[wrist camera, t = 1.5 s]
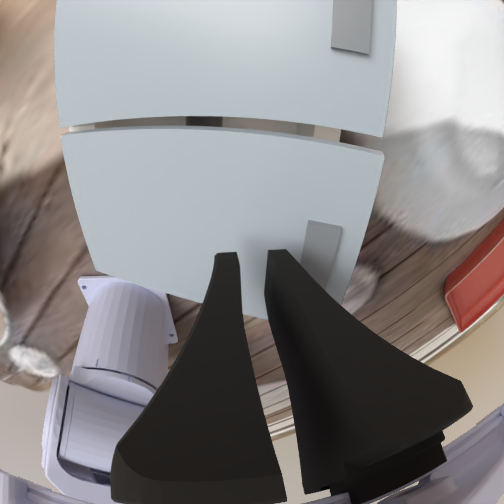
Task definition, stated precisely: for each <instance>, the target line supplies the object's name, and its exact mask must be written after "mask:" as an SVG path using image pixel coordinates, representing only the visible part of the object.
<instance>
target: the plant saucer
mask: <svg viewBox="0 0 504 504" xmlns="http://www.w3.org/2000/svg"><path fill="white" fill-rule="evenodd" d="M444 294H445V300H446V302H447V304H448V306H449V309H450V311H451V313H452V315H453V318H454V320H455V322H456V324H457V327H458V329H459V332H460V333H461V332H463V331H464V330H465V329H467V328H468V327H469V326H470V325H471V324H472V323H474V322H475V321H476V320H477V319H478V318H479V317H480V316H481V315H483V314H484V313H485V312H486V311H487V310H488V309H489V308H490V307H491V306H492V305H493V304H494V303H495V302H496V301H497V300H498V299H499V298H500V297H501V296H502V295H503V294H504V219H503V220H502V221H501V222H500V224H499V225H498V226H497V227H496V228H495V229H494V230H493V231H492V233H491V234H490V235H489V236H488V237H487V238H486V239H485V240H484V241H483V242H482V243H481V244H480V245H479V246H478V247H477V248H476V249H475V250H474V251H473V253H472V254H471V255H469V256H468V257H467V258H466V259H465V260H464V261H463V262H462V263H461V264H460V265H459V266H458V267H457V268H456V269H455V270H454V271H453V272H452V273H451V274H450V275H449V276H448V277H447V278H446V283H445V292H444Z"/></svg>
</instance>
